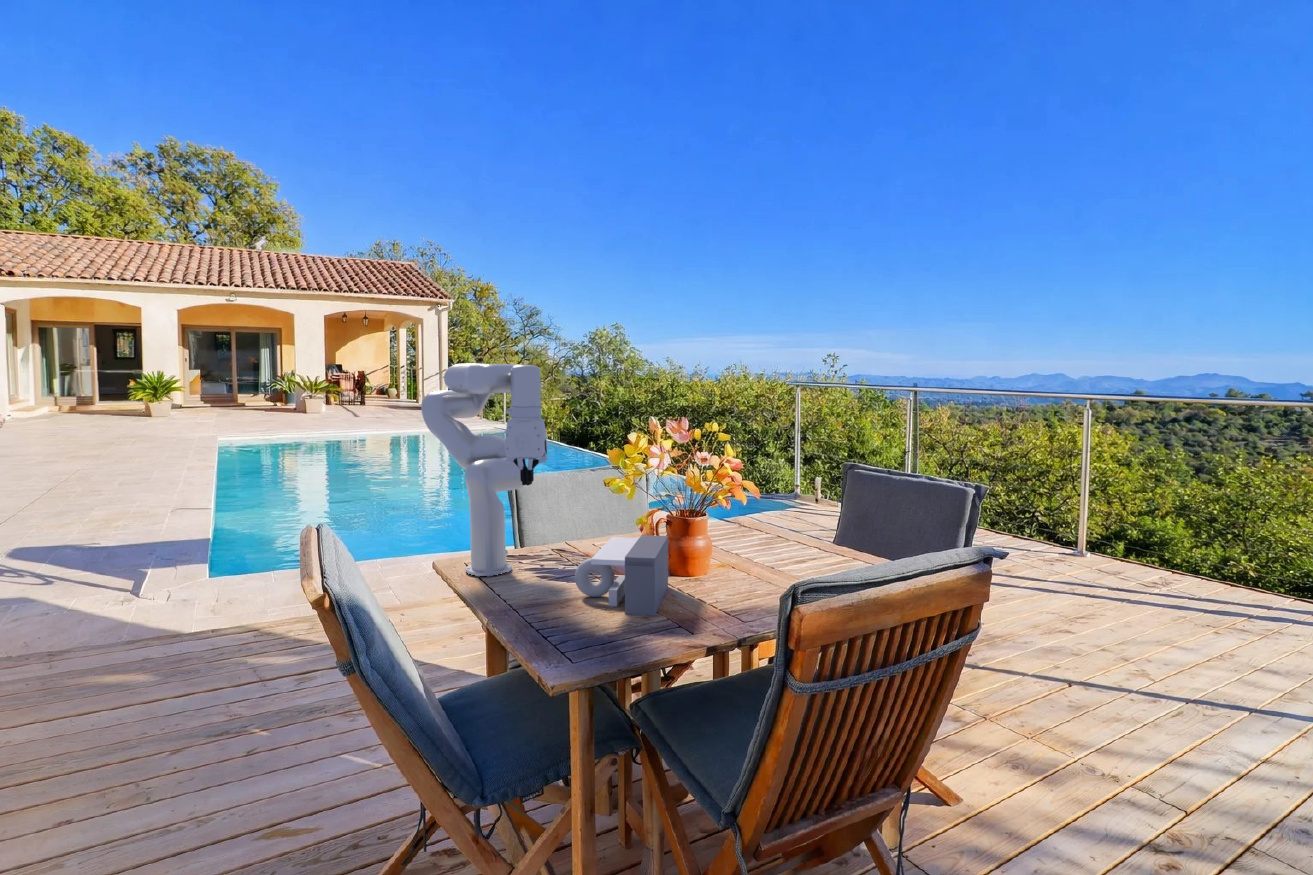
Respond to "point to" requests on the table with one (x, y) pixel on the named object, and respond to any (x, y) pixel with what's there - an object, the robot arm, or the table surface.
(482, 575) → the robot arm
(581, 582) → the donut
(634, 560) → the ledge cabinet
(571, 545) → the table surface
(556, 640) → the table surface
